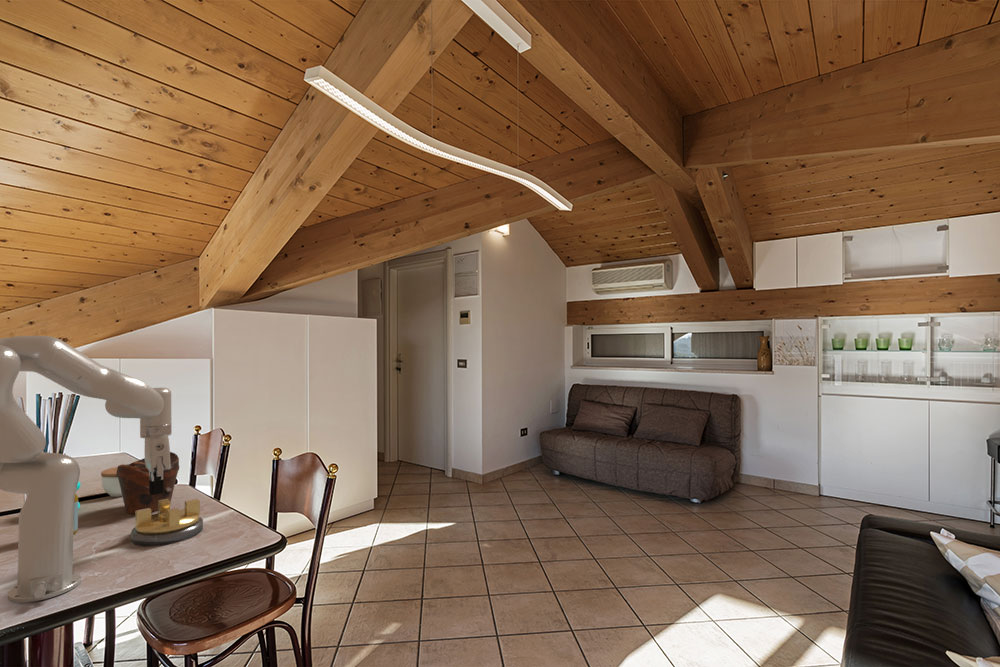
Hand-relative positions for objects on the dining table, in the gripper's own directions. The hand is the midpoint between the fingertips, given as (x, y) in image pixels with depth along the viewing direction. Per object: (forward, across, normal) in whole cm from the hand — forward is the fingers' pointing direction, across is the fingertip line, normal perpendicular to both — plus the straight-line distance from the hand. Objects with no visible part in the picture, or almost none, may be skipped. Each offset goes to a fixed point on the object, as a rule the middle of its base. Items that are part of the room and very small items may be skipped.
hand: (156, 493), depth 145 cm
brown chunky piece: (+15, +36, -4) cm, 39 cm away
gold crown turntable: (+11, +4, -4) cm, 12 cm away
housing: (+14, +4, -4) cm, 15 cm away
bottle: (+14, +24, +20) cm, 34 cm away
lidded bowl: (+15, +62, 0) cm, 64 cm away
